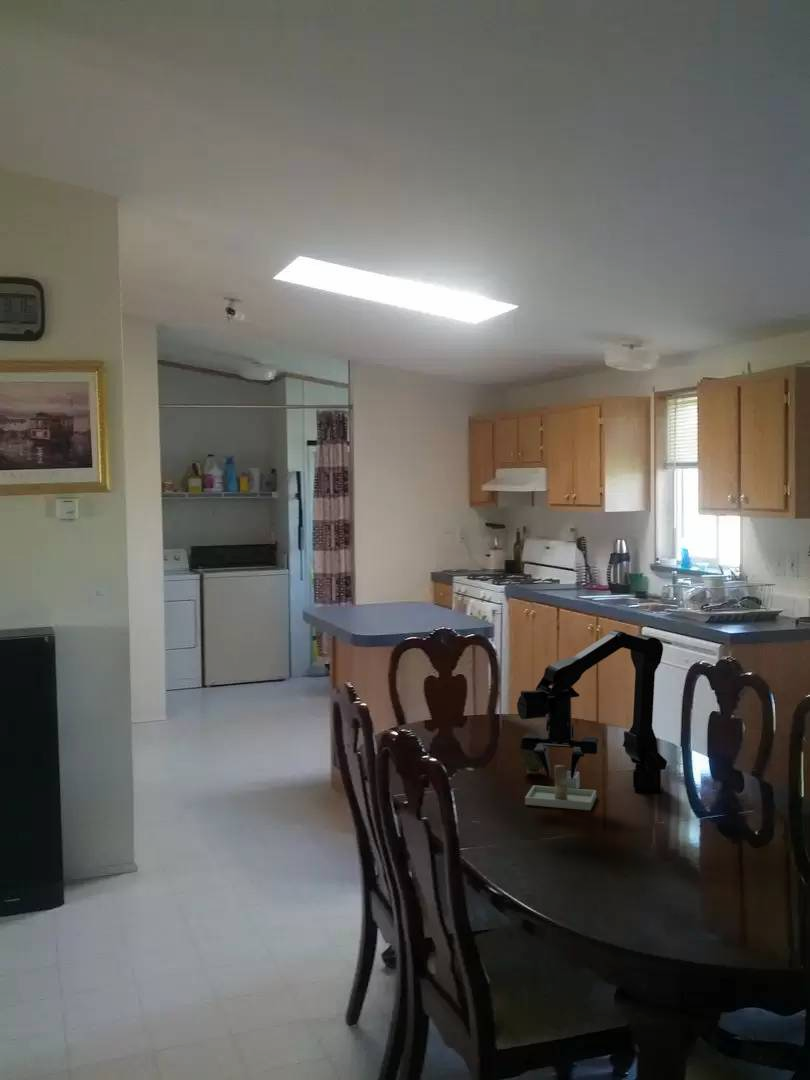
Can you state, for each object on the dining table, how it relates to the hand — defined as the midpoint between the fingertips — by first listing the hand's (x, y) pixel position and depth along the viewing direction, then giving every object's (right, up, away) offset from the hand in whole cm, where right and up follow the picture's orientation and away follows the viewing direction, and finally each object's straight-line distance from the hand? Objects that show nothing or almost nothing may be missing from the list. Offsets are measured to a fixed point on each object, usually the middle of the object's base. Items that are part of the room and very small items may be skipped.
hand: (560, 777), depth 232 cm
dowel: (0, -5, 0) cm, 5 cm away
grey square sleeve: (+3, -5, +9) cm, 11 cm away
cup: (-4, -5, +23) cm, 24 cm away
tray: (0, -6, 0) cm, 6 cm away
